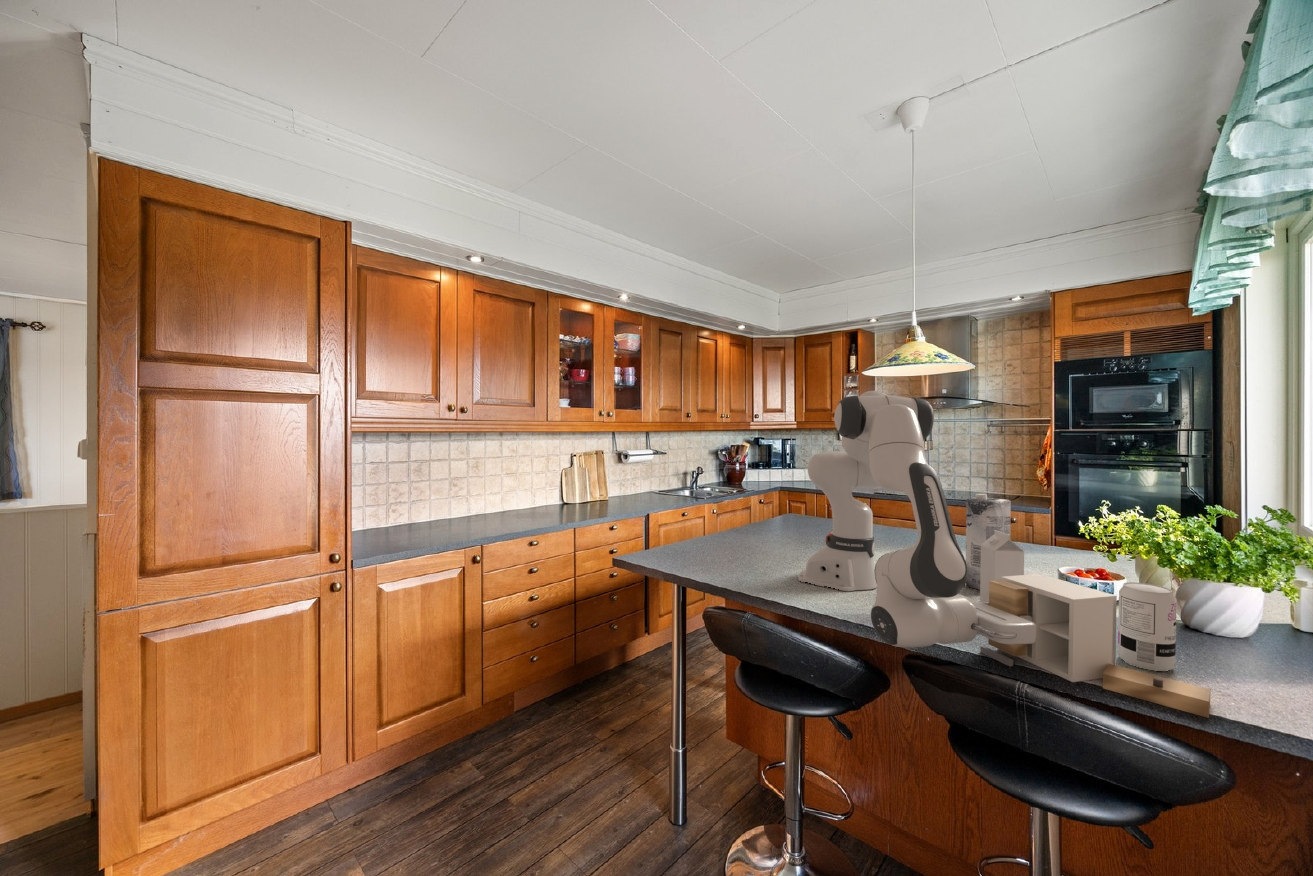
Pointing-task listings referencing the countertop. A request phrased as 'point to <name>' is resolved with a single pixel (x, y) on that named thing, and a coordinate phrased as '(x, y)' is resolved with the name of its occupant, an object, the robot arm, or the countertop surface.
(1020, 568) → the milk carton
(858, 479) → the robot arm
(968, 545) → the juice carton
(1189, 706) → the door
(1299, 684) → the countertop surface
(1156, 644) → the supplement can
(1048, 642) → the carcass
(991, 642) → the oak door
